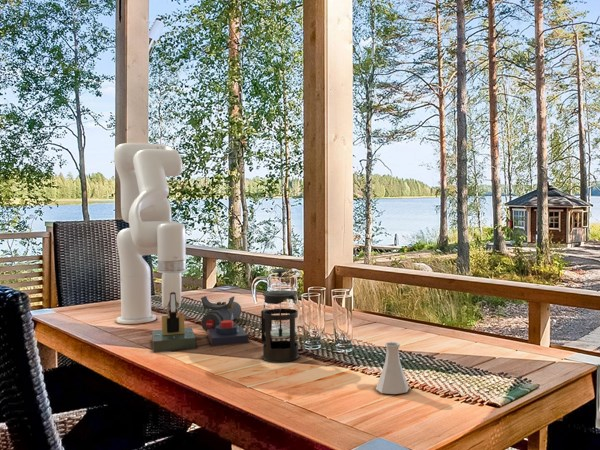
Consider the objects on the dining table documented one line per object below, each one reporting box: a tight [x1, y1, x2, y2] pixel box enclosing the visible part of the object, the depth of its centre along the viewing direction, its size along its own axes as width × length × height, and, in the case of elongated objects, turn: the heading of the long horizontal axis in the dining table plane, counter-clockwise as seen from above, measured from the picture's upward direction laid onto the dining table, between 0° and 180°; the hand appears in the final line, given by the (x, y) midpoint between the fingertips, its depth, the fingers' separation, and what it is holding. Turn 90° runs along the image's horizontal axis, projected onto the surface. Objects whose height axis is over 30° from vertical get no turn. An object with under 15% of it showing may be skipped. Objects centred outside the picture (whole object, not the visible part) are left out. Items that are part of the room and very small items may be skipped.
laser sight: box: [200, 295, 242, 332], centre depth 185 cm, size 10×22×10 cm, turn 174°
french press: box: [260, 268, 300, 363], centre depth 148 cm, size 12×9×23 cm
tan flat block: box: [161, 312, 185, 335], centre depth 161 cm, size 6×2×6 cm, turn 110°
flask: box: [375, 341, 410, 395], centre depth 123 cm, size 7×7×10 cm
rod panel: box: [151, 326, 197, 353], centre depth 161 cm, size 14×11×3 cm
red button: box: [221, 320, 234, 328], centre depth 167 cm, size 4×4×2 cm
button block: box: [206, 323, 249, 347], centre depth 167 cm, size 12×10×4 cm
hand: (173, 330), depth 161 cm, fingers closed on tan flat block, 2 cm apart
